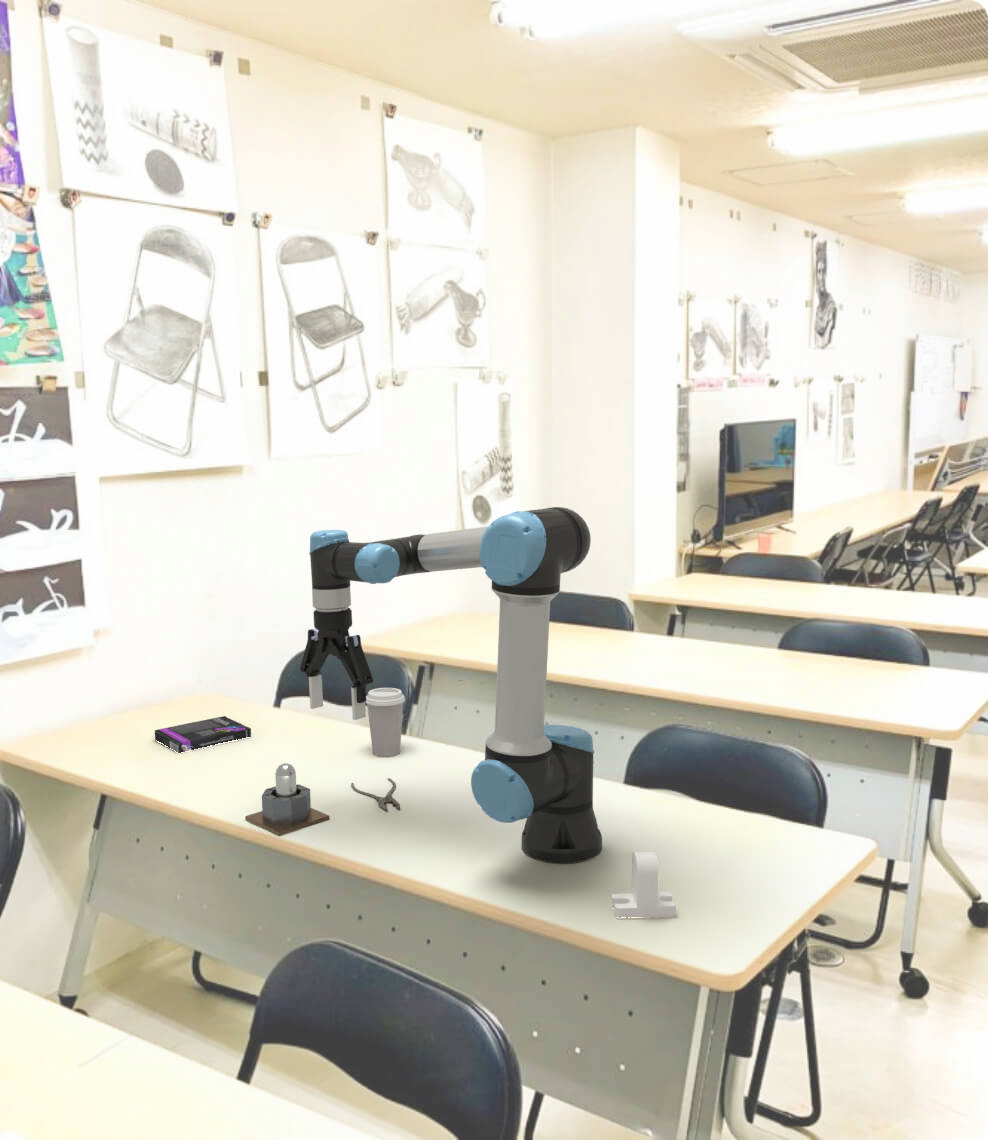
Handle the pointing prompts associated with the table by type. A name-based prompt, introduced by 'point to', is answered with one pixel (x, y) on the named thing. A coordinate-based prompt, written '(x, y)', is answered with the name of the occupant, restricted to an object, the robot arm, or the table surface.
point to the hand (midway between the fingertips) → (337, 712)
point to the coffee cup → (385, 720)
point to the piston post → (286, 789)
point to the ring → (286, 806)
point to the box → (201, 734)
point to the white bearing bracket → (644, 891)
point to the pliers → (382, 800)
